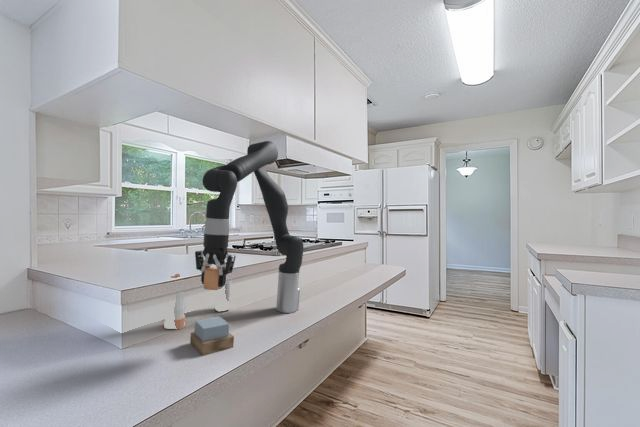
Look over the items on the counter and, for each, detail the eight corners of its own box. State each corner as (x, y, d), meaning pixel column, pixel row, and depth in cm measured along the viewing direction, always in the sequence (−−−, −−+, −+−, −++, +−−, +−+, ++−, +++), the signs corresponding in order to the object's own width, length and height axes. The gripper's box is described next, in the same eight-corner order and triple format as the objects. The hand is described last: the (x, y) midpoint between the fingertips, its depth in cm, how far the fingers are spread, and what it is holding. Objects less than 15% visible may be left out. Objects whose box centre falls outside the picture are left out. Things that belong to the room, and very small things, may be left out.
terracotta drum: (217, 284, 105) (218, 266, 105) (224, 288, 101) (226, 269, 101) (200, 286, 101) (201, 267, 101) (207, 290, 97) (209, 271, 97)
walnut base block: (219, 337, 109) (220, 326, 109) (233, 348, 102) (233, 336, 102) (190, 344, 102) (190, 332, 102) (202, 357, 95) (203, 343, 95)
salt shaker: (174, 321, 120) (177, 270, 119) (189, 324, 117) (192, 273, 117) (158, 327, 113) (161, 274, 113) (174, 331, 111) (177, 277, 110)
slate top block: (218, 327, 108) (219, 316, 107) (228, 336, 101) (228, 324, 101) (194, 332, 102) (195, 320, 102) (203, 341, 96) (203, 328, 96)
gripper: (189, 231, 100) (186, 284, 100) (229, 235, 95) (225, 291, 95) (205, 230, 107) (202, 279, 107) (242, 234, 102) (239, 285, 103)
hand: (213, 284), depth 101 cm, fingers closed on terracotta drum, 5 cm apart
